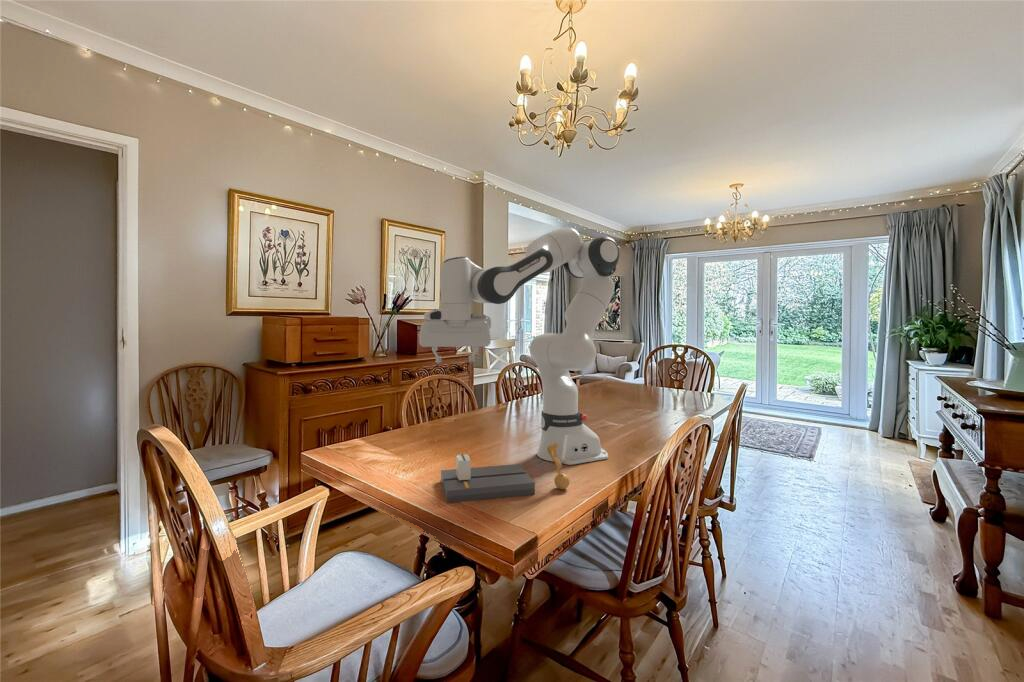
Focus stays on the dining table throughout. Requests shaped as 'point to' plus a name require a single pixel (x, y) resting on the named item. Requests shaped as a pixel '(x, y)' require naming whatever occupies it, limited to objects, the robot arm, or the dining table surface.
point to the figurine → (560, 479)
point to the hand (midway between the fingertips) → (455, 362)
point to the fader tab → (463, 467)
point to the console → (487, 483)
